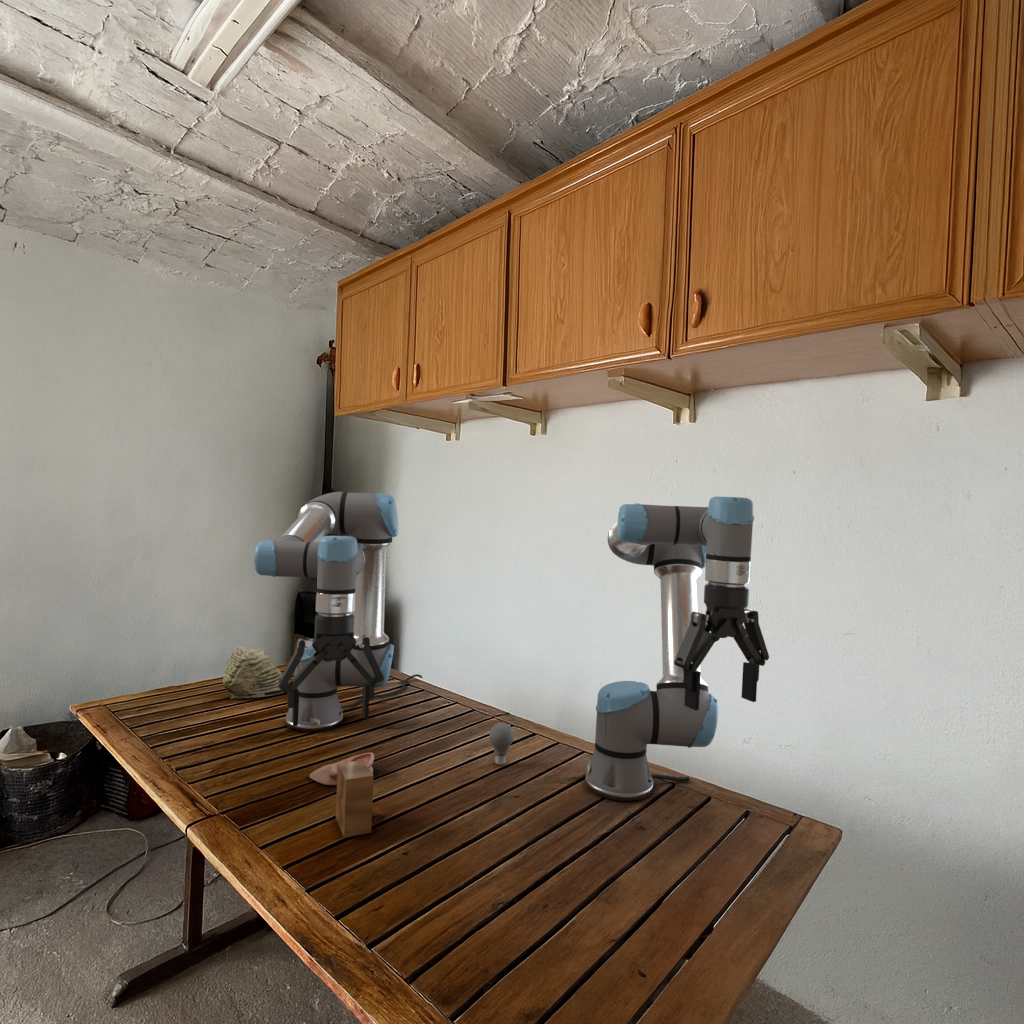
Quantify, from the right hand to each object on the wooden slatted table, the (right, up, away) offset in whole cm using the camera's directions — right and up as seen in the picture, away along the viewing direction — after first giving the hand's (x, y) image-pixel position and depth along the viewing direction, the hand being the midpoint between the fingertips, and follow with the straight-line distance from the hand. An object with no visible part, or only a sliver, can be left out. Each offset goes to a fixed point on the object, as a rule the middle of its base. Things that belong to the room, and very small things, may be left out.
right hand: (720, 703), depth 112 cm
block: (-68, -27, +11) cm, 74 cm away
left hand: (-73, -8, +14) cm, 75 cm away
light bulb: (-40, -28, +42) cm, 64 cm away
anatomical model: (-76, -26, +32) cm, 86 cm away
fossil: (-118, -23, +86) cm, 148 cm away
